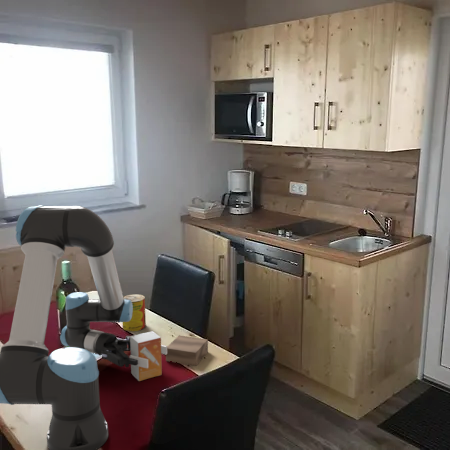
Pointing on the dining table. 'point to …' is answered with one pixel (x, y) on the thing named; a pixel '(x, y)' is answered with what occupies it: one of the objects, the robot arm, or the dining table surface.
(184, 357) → the walnut block
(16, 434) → the dining table surface
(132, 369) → the small box
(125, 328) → the yellow food can
